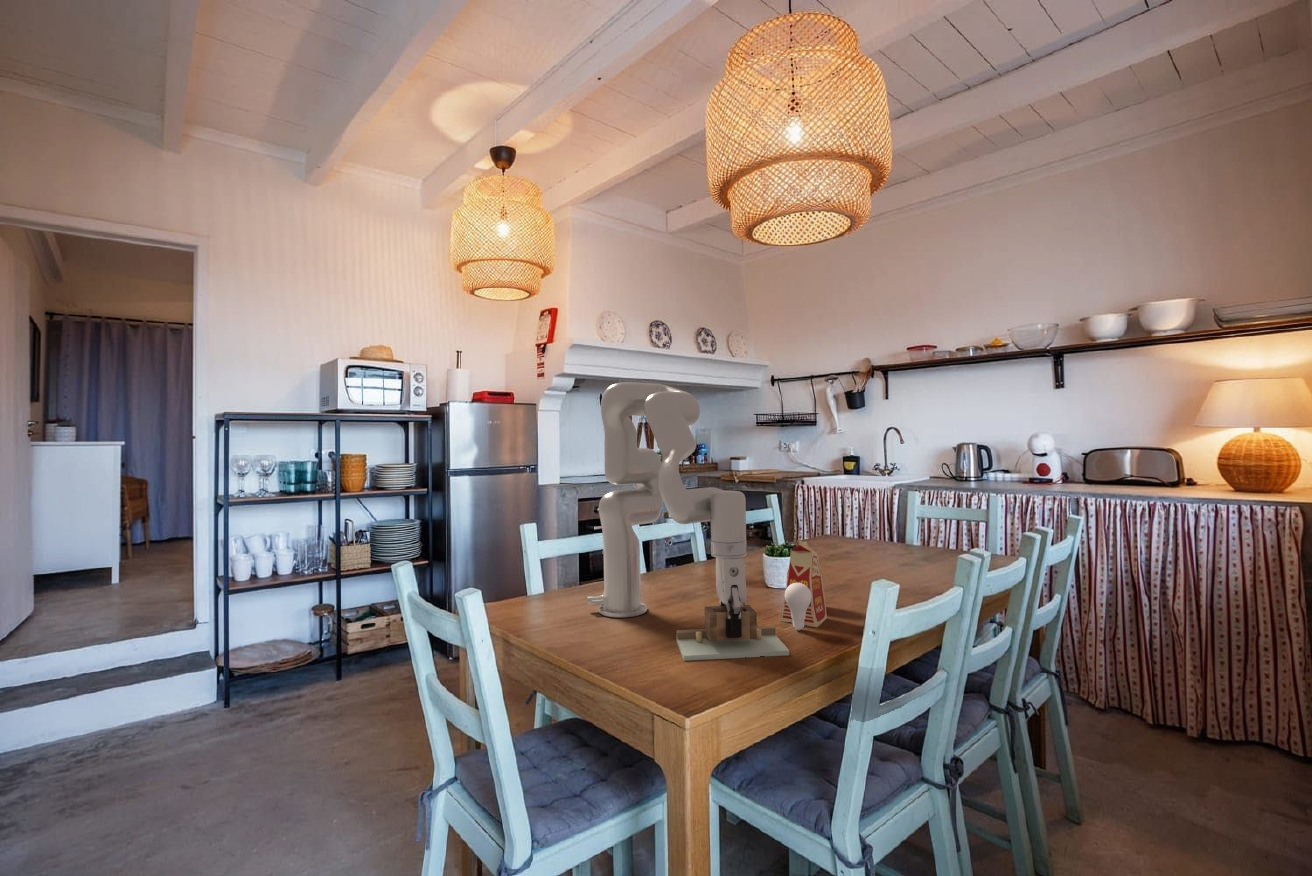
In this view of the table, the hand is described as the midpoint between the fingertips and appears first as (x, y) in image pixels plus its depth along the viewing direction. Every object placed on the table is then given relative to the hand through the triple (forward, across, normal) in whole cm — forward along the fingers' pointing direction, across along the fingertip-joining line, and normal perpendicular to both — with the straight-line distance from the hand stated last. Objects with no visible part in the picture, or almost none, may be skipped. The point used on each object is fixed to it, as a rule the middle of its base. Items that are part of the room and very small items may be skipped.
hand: (730, 631), depth 134 cm
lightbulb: (+4, +9, -18) cm, 21 cm away
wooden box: (+1, 0, 0) cm, 1 cm away
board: (+4, 0, 0) cm, 4 cm away
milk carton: (+4, +17, -22) cm, 28 cm away
